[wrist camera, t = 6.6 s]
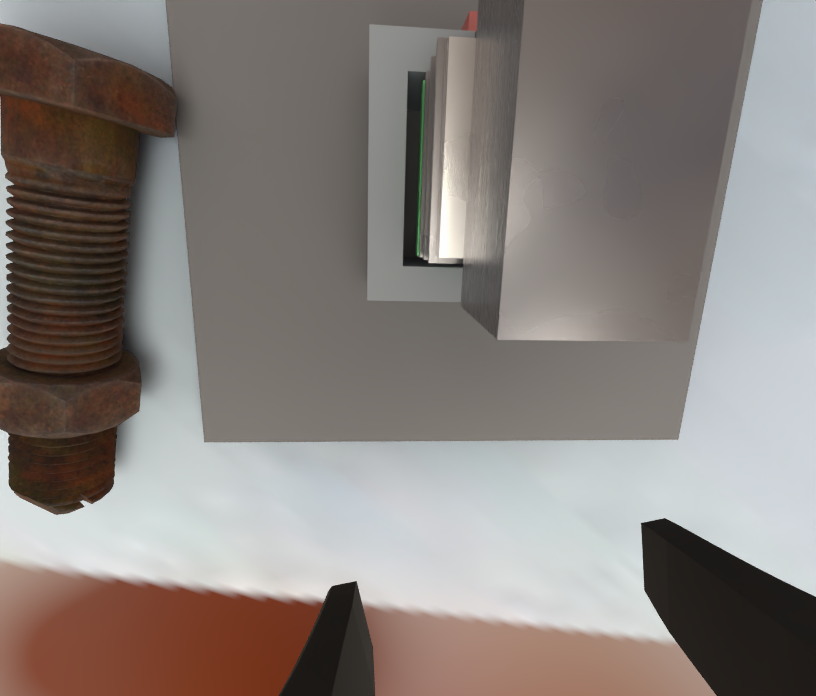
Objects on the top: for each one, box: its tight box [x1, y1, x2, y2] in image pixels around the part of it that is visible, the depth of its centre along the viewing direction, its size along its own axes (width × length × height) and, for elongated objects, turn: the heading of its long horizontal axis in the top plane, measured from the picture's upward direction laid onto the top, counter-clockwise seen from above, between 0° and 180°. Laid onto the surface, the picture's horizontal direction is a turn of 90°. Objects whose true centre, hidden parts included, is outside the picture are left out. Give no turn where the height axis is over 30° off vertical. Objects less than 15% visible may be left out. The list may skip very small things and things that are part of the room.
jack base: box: [166, 0, 763, 442], centre depth 15 cm, size 20×20×5 cm
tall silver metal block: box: [416, 0, 752, 342], centre depth 10 cm, size 4×6×8 cm
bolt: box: [0, 24, 177, 515], centre depth 16 cm, size 6×5×15 cm
